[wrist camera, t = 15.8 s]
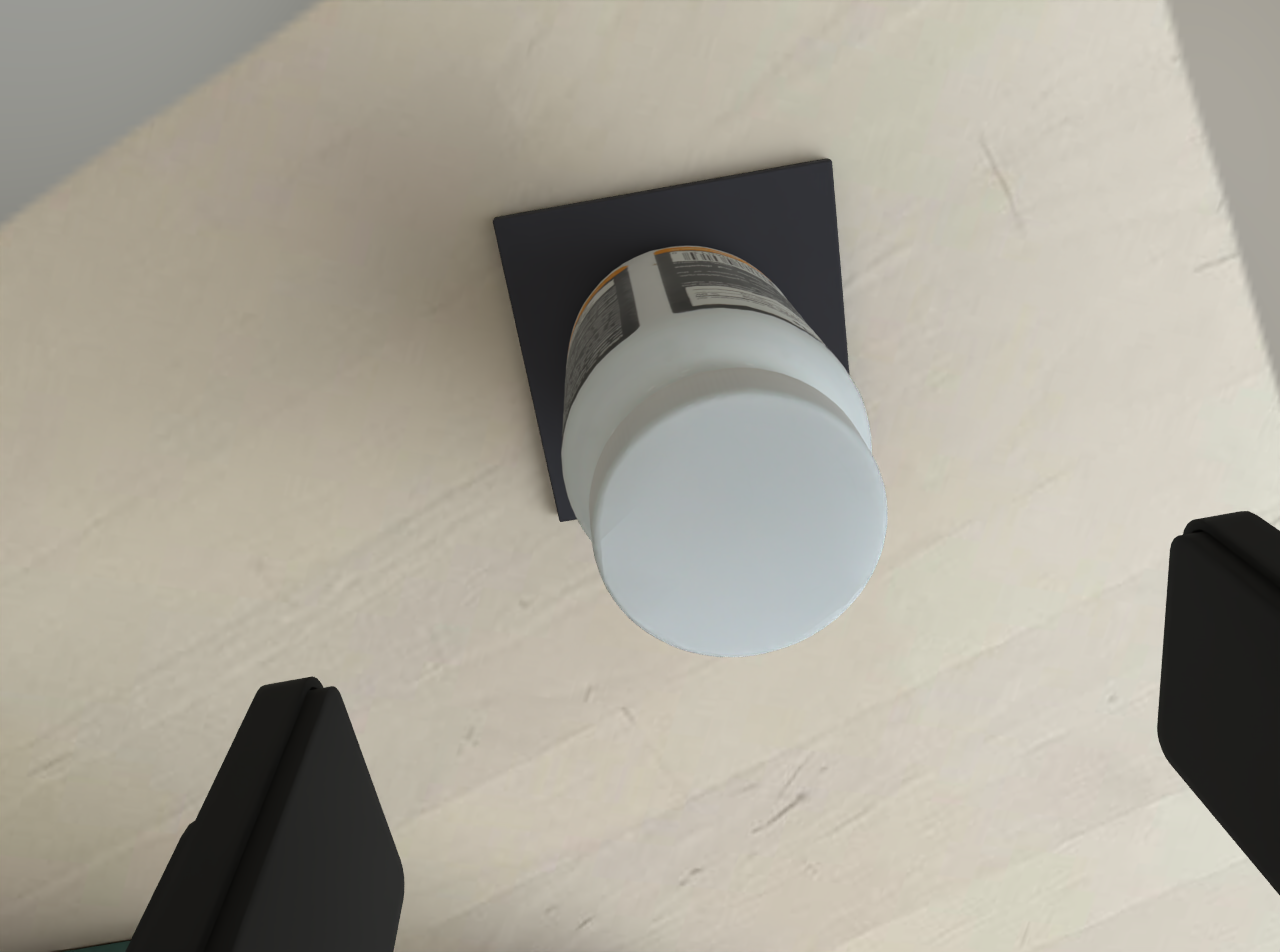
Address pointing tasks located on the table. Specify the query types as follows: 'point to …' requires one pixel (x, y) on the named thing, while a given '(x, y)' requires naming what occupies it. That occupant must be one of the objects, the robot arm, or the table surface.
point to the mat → (655, 219)
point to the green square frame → (105, 948)
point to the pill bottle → (717, 456)
